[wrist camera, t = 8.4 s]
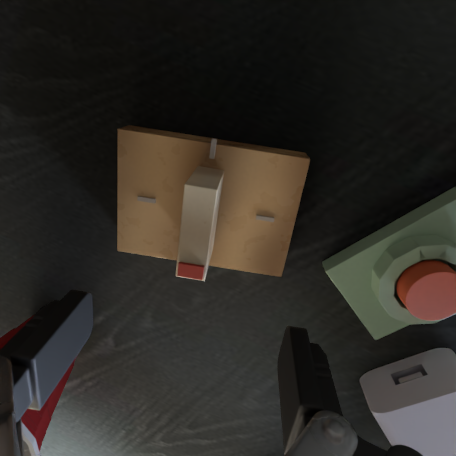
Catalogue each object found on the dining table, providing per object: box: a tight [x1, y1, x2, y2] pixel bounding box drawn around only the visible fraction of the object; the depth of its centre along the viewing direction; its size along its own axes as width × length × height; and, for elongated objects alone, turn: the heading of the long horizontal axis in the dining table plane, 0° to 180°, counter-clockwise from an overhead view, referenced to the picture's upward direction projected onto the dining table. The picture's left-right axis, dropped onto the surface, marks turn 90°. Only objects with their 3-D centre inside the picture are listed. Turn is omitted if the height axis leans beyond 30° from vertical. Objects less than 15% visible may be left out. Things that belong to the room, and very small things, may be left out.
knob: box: [176, 166, 224, 281], centre depth 22 cm, size 6×2×5 cm, turn 172°
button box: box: [322, 187, 456, 340], centre depth 27 cm, size 12×9×4 cm
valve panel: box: [117, 125, 310, 277], centre depth 26 cm, size 14×11×3 cm
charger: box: [360, 348, 456, 456], centre depth 33 cm, size 5×9×15 cm
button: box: [396, 260, 456, 321], centre depth 25 cm, size 4×4×2 cm
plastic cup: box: [0, 315, 77, 456], centre depth 29 cm, size 11×11×12 cm
